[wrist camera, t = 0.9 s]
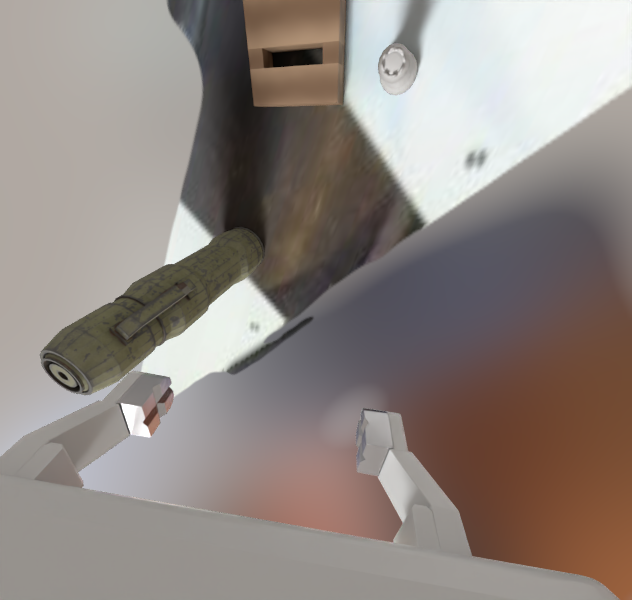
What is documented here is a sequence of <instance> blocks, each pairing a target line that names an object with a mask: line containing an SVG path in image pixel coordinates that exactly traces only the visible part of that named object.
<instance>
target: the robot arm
mask: <svg viewBox="0 0 632 600" xmlns="http://www.w3.org/2000/svg"><path fill="white" fill-rule="evenodd" d="M170 385H171V379H170V377H166V376H160V375H155V374H150V373H144V372H138V371H132V372H130V373H128V375H127V376H126V377H125V378H124V379H123V380H122V381H121V382H120V383H119V384H118V385H117V386H116V387H115V388H114V389H113V390H112V391H111V392H110V393H109V394H108V395H107V396H106V397H105V398H104V400H103V401H97V402H95V403H92V404H90V405H88V406H86V407H84V408H82V409H80V410H78V411H75V412H73V413H71V414H69V415H67V416H65V417H63V418H61V419H59V420H57V421H54V422H52V423H51V424H48V425H46V426H44V427H42V428H40V429H38V430H36V431H34V432H31V433H30V434H27V435H25V436H23V437H22V438H21V439H20V440H19V441H18V442H16V443H15V444H14V445H13V446H12V447H11V448H10V449H9V450H8V451H6V452H5V453H4V454H3V455H2V456H1V457H0V600H619V599H618V598H617V597H616V596H615V595H614V594H613V593H612V592H610V590H608V589H607V588H606V587H605V586H604V585H603V584H601V583H600V582H598V581H596V580H594V579H592V578H588V577H585V576H581V575H575V574H570V573H563V572H558V571H552V570H547V569H541V568H535V567H529V566H523V565H518V564H512V563H506V562H501V561H495V560H489V559H484V558H478V557H473V556H472V555H471V551H470V548H469V545H468V541H467V538H466V535H465V531H464V528H463V525H462V521H461V518H460V515H459V511H458V510H457V509H456V507H455V506H454V505H453V503H451V501H450V500H449V499H448V497H447V496H446V495H445V494H444V492H443V491H442V490H441V488H440V487H439V486H438V485H437V483H436V482H435V481H434V480H433V478H432V477H431V476H430V475H429V473H428V472H427V471H426V470H425V469H424V467H423V466H422V464H421V463H420V462H419V461H418V459H417V458H416V457H415V456H414V454H413V453H412V452H408V448H407V444H406V438H405V433H404V429H403V423H402V418H401V415H400V414H397V413H392V412H386V411H380V410H373V409H366V408H363V409H362V411H361V420H360V421H358V425H357V431H356V445H357V447H358V448H359V449H358V452H357V455H356V457H357V472H359V473H364V474H369V475H374V476H379V477H378V478H379V480H380V482H381V483H382V485H383V487H384V489H385V491H386V493H387V495H388V496H389V498H390V500H391V502H392V504H393V505H394V507H395V509H396V511H397V513H398V515H399V517H400V518H401V520H402V522H403V524H402V526H401V527H400V529H399V531H398V533H397V534H396V536H395V538H394V540H393V541H394V543H392V542H387V541H381V540H375V539H369V538H364V537H358V536H352V535H346V534H341V533H335V532H330V531H324V530H318V529H312V528H307V527H301V526H296V525H289V524H284V523H278V522H272V521H267V520H261V519H256V518H250V517H244V516H239V515H233V514H227V513H222V512H216V511H210V510H204V509H199V508H193V507H187V506H182V505H176V504H170V503H165V502H159V501H153V500H147V499H141V498H136V497H130V496H124V495H119V494H113V493H107V492H102V491H96V490H90V489H84V488H82V487H83V480H82V479H81V477H80V475H79V473H78V472H79V471H81V470H82V469H83V468H85V467H86V466H88V465H89V464H91V463H92V462H93V461H95V460H96V459H98V458H99V457H100V456H102V455H103V454H105V453H106V452H108V451H109V450H110V449H112V448H113V447H114V446H116V445H117V444H119V443H120V442H122V441H123V440H124V439H126V438H127V437H128V436H130V435H137V436H144V437H151V436H152V434H153V433H154V432H155V430H156V429H157V427H158V426H159V424H160V417H162V416H163V415H165V414H167V412H168V411H169V409H170V408H171V405H172V403H173V398H174V393H173V390H172V389H171V388H170V387H169V386H170ZM129 434H130V435H129Z"/></svg>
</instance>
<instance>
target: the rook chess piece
mask: <svg viewBox="0 0 632 600" xmlns="http://www.w3.org/2000/svg"><path fill="white" fill-rule="evenodd" d="M378 70H379V74H380V82H381V85H382V87H383V89H384V90H385V91H386V92H387V93H389V94H391V95H399V94H403V93H404V92H406V91H407V90H408V89H409V88H410V87H411V86H412V84H413V83H414V81H415V78H416V75H417V61H416V59H415V57H414V55H413V54H412V53H411V52H410V51H409V50H408V49H407V48H406V47H405V46H404V45H403V44H398V43H395V44H392V45H389V46H388V47H387V48H386V49H385V50H384V51H383V53H382V55H381V56H380V59H379V64H378Z"/></svg>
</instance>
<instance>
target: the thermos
mask: <svg viewBox="0 0 632 600" xmlns="http://www.w3.org/2000/svg"><path fill="white" fill-rule="evenodd" d="M264 252H265V251H264V247H263V244H262V242H261V240H260V238H259V237H258V236H257V235H256V234H255V233H254V232H253V231H251V230H249V229H247V228H244V227H235V228H233V229H231V230H229V231H226V232H224V233H222V234H220V235H218V236H217V237H215V238H213V239H212V241H211V242H210V243H209V245H207V246H205V247H204V248H202V249H200V250H198V251H197V252H195V253H193V254H191V255H190V256H188V257H186V258H184V259H183V260H181V261H179V262H177V263H175V264H168V265H165V266H163V267H161V268H159V269H158V270H156V271H154V272H152V273H150V274H149V275H147V276H145V277H143V278H141V279H139V280H138V281H136V282H134V283H132V285H131V286H130V287H129V288H128V289H127V291H126V292H125V293H124V294H123V295H121V296H119V297H118V298H116V300H115V301H114V302H113V303H108V304H106V305H104V306H102V307H101V308H99V309H97V310H95V311H93V312H92V313H90V314H88V315H86V316H85V317H83V318H81V319H79V320H78V321H76V322H74V323H72V324H71V325H69V326H67V327H65V328H64V329H62V330H61V331H60V332H59V333H58V334H57V335H56V336H55V337H54V338H53V339H52V340H51V341H50V343H48V345H47V346H46V347H45V348H44V349H43V350H42V351H41V353H40V358H41V364H42V367H43V369H44V370H45V372H46V373H47V374H48V375H49V376H50V378H52V379H53V380H54V381H55V382H56V383H57V384H58V385H60V386H61V387H63V388H64V389H66V390H68V391H70V392H73V393H76V394H83V395H90V394H92V393H94V392H97V391H99V390H101V389H103V388H105V387H107V386H110V385H111V384H114V383H116V382H117V381H119V380H120V379H121V378H122V377H124V376H125V375H126V374H127V373H128V372H129V371H131V370H132V369H133V368H134V367H135V366H137V365H138V364H139V363H140V362H141V361H142V360H144V359H145V358H146V357H147V356H148V355H150V354H151V353H152V352H153V351H154V350H155V347H157V346H160V345H161V344H163V343H164V342H165V341H166V340H168V339H171V338H173V337H176V336H178V335H180V334H181V333H183V332H184V331H185V330H186V329H187V328H188V327H189V326H191V325H192V324H193V323H194V322H195V321H196V320H198V319H199V318H200V317H201V316H202V315H203V314H204V313H205V312H206V311H207V310H208V307H209V305H210V304H211V303H212V302H214V301H215V300H216V299H217V298H218V297H219V296H221V295H222V294H223V293H224V292H225V291H227V290H228V289H229V288H230V287H231V286H232V285H234V284H236V283H238V282H240V281H242V280H244V279H245V278H246V277H247V276H249V275H250V274H251V273H252V272H253V271H254V270H255V269H256V268H257V267H258V266H259V265H260V264H261V263H262V261H263V259H264Z"/></svg>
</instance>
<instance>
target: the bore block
mask: <svg viewBox="0 0 632 600" xmlns="http://www.w3.org/2000/svg"><path fill="white" fill-rule="evenodd" d="M243 6H244V15H245V25H246V35H247V44H248V54H249V63H250V73H251V82H252V92H253V101H254V106H258V107H282V106H314V105H343V84H344V54H345V24H346V0H243ZM322 48H323V64H317V65H303V66H289V67H275V68H273V56H272V53H276V52H288V51H299V50H311V49H322Z"/></svg>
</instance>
